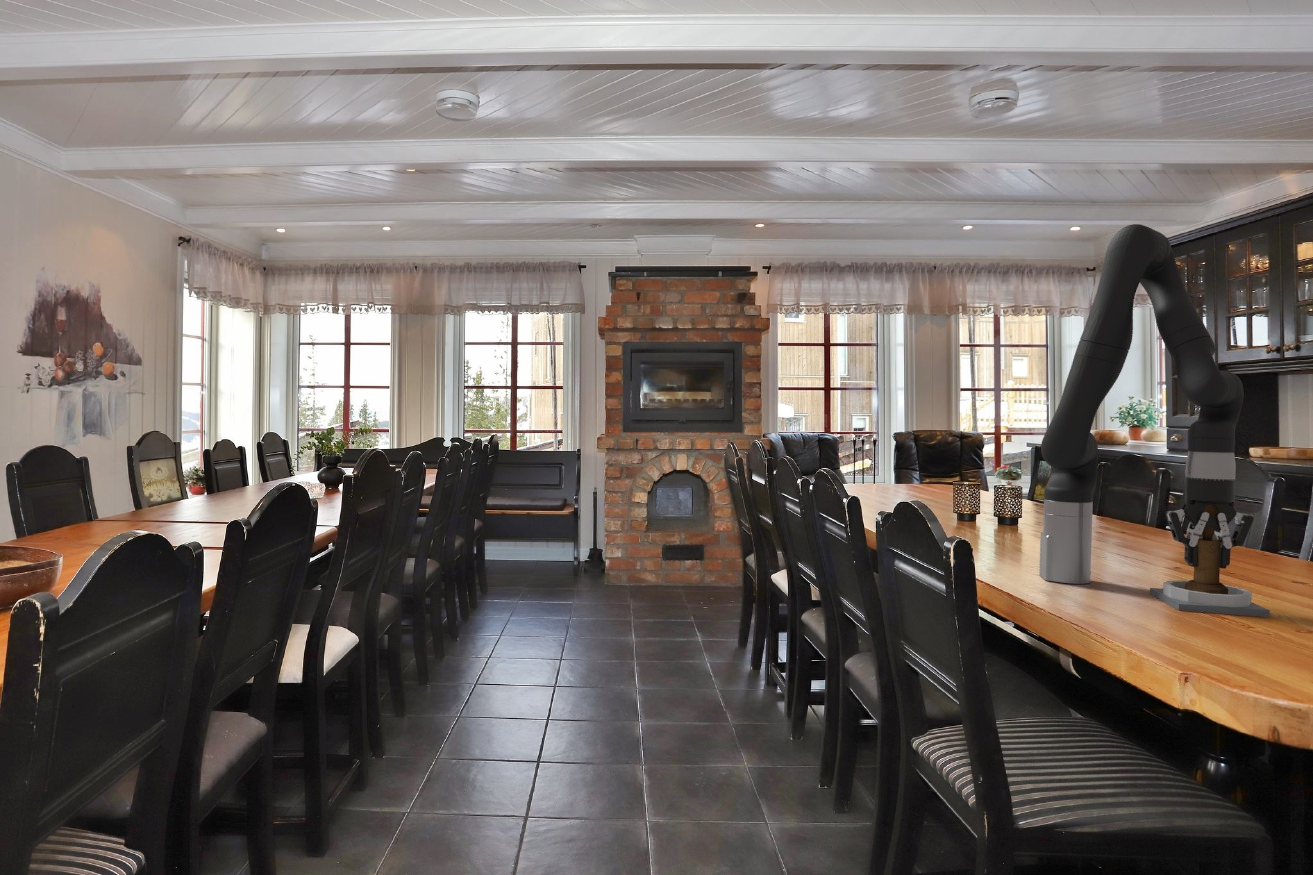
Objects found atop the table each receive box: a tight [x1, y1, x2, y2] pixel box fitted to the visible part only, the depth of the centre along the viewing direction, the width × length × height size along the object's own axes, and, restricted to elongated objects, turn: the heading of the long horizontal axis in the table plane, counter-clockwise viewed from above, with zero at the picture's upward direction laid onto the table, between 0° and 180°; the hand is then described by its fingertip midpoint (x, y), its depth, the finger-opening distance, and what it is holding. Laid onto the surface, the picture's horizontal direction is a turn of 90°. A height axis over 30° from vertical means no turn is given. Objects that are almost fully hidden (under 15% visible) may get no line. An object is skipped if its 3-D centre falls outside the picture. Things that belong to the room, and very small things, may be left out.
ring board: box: [1149, 579, 1271, 618], centre depth 140 cm, size 14×14×3 cm
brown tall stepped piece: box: [1185, 505, 1228, 595], centre depth 140 cm, size 7×6×18 cm
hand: (1206, 566), depth 140 cm, fingers open, 4 cm apart
